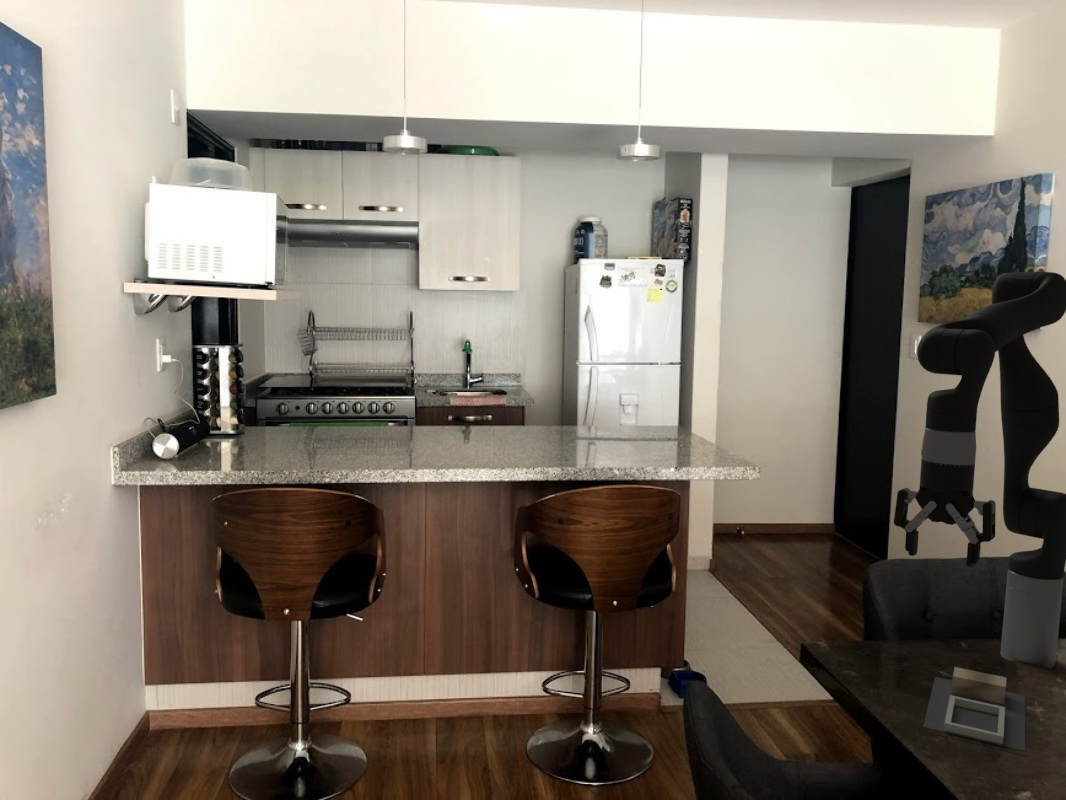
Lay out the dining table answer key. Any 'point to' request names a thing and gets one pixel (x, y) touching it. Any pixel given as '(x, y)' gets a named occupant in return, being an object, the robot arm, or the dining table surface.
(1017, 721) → the mat
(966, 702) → the slot frame
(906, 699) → the dining table surface
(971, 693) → the tan rectangular block
